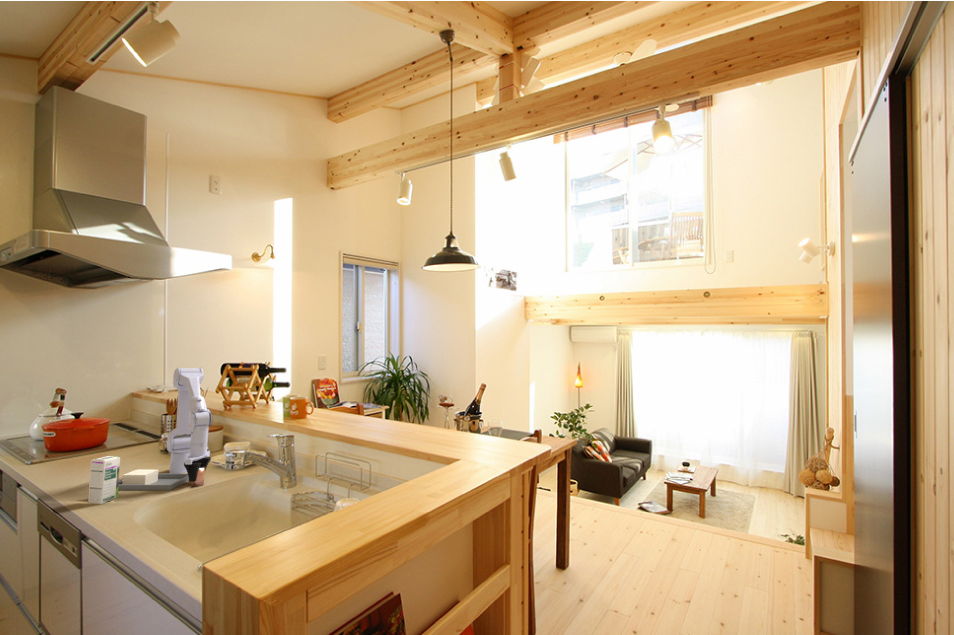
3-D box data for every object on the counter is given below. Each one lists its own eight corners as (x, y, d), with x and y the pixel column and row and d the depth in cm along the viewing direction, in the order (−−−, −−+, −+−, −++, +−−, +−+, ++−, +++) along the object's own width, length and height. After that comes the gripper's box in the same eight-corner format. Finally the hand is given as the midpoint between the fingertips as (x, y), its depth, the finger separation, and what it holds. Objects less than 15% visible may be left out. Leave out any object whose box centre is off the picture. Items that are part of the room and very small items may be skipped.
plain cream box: (135, 480, 180) (136, 469, 180) (157, 480, 181) (158, 469, 181) (121, 486, 172) (122, 475, 172) (144, 486, 173) (145, 475, 173)
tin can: (192, 482, 181) (193, 466, 182) (206, 482, 182) (207, 466, 182) (185, 486, 176) (186, 469, 176) (199, 486, 176) (200, 469, 177)
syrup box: (101, 504, 155) (105, 460, 156) (87, 503, 156) (90, 458, 157) (117, 499, 160) (121, 456, 161) (103, 497, 162) (107, 455, 163)
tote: (137, 479, 184) (138, 473, 184) (193, 480, 185) (193, 473, 186) (109, 492, 168) (109, 485, 168) (170, 492, 170) (170, 485, 170)
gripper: (200, 447, 173) (197, 484, 172) (218, 439, 187) (216, 474, 187) (180, 447, 172) (177, 484, 172) (200, 439, 187) (197, 474, 186)
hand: (196, 479), depth 179 cm, fingers closed on tin can, 5 cm apart
